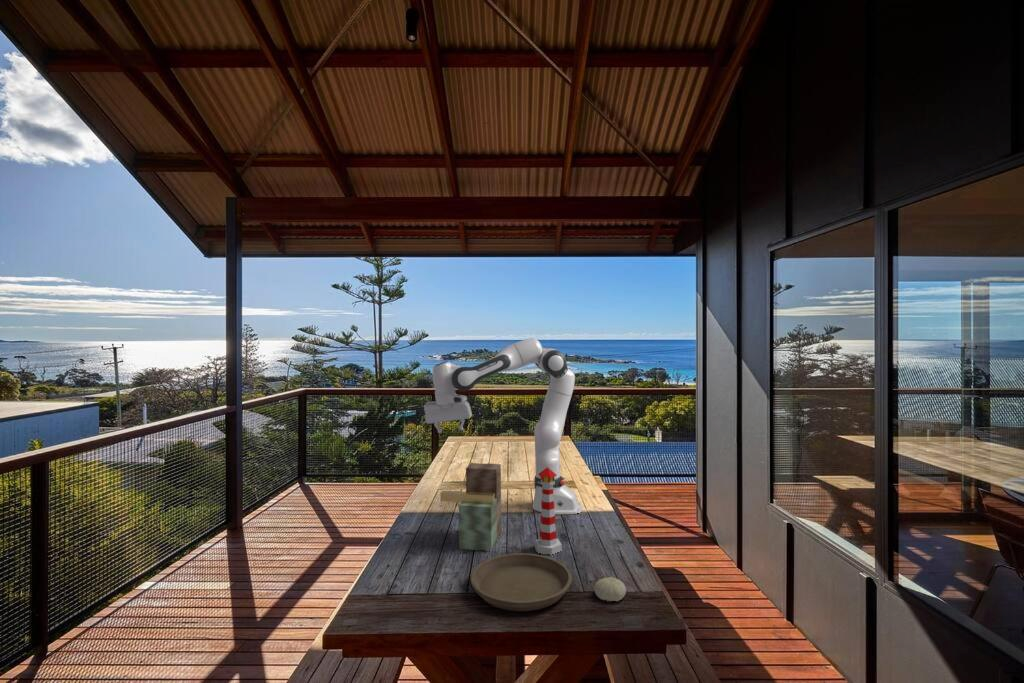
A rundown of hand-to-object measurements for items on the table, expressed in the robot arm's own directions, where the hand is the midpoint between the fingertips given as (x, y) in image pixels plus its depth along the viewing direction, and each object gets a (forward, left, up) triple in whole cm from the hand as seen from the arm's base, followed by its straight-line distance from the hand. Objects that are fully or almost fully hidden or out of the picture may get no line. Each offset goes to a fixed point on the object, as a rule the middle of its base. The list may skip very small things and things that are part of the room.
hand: (450, 431), depth 223 cm
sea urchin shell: (-67, +58, -37) cm, 96 cm away
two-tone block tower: (-19, +24, -36) cm, 48 cm away
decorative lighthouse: (-45, +28, -37) cm, 65 cm away
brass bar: (-15, +28, -20) cm, 38 cm away
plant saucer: (-40, +58, -37) cm, 80 cm away
